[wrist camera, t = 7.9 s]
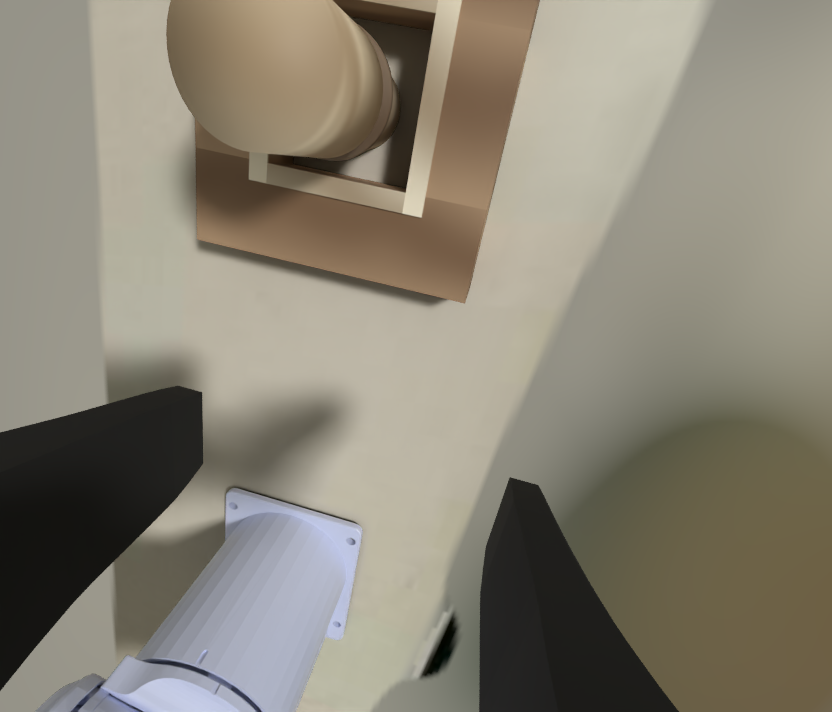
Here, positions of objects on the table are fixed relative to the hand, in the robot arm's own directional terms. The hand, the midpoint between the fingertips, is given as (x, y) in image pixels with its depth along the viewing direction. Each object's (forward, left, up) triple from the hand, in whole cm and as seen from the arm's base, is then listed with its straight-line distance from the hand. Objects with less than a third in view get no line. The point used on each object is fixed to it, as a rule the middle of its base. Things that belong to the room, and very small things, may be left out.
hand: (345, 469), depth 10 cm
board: (+8, +4, -10) cm, 14 cm away
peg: (+8, +4, -10) cm, 14 cm away
